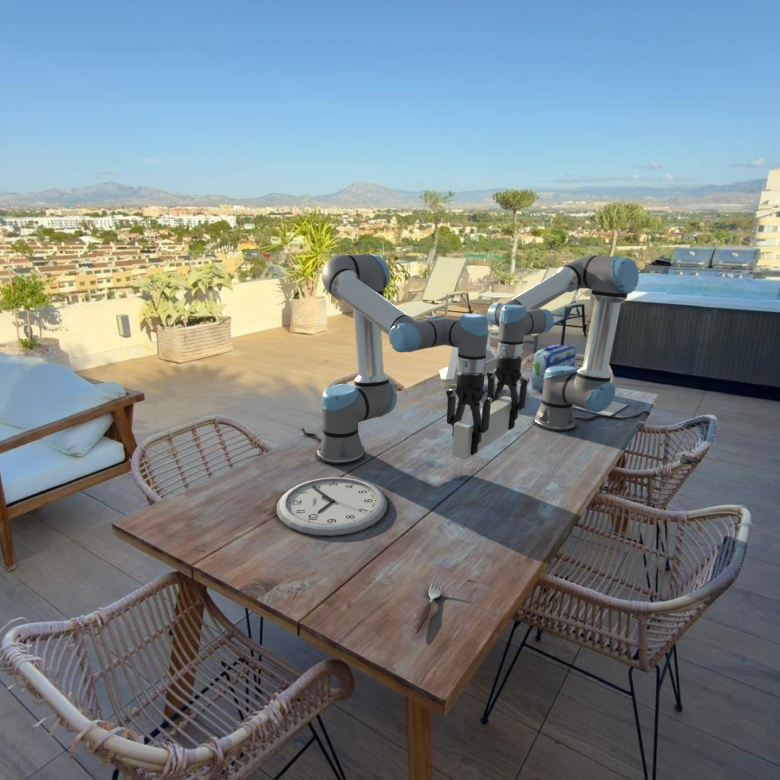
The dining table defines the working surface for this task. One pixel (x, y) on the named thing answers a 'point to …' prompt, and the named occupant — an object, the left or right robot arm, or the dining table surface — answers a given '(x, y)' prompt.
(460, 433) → the bar
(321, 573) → the dining table surface
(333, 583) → the dining table surface
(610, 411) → the invitation card
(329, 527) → the wall clock
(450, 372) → the white plastic object
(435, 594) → the fork
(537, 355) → the lunch box
